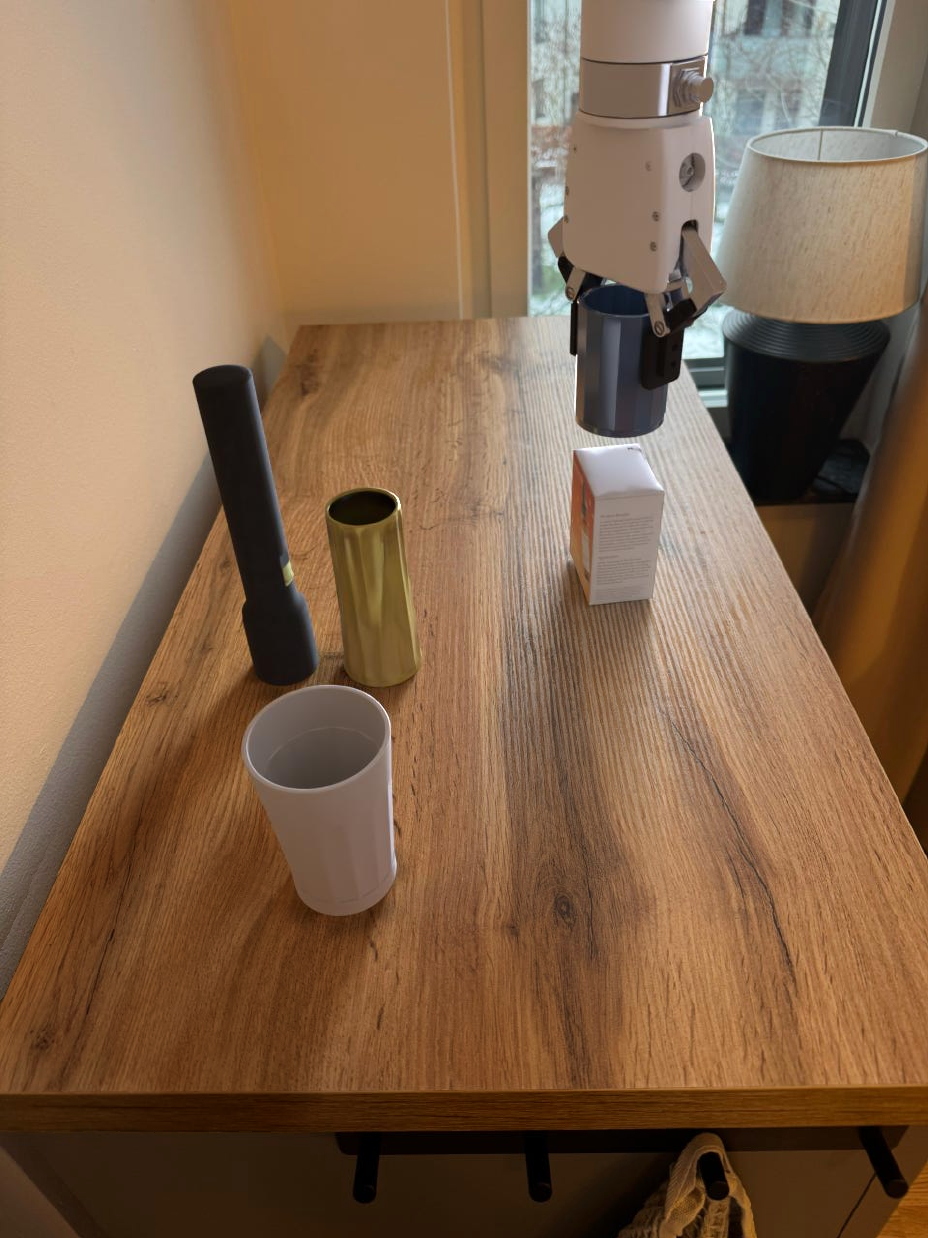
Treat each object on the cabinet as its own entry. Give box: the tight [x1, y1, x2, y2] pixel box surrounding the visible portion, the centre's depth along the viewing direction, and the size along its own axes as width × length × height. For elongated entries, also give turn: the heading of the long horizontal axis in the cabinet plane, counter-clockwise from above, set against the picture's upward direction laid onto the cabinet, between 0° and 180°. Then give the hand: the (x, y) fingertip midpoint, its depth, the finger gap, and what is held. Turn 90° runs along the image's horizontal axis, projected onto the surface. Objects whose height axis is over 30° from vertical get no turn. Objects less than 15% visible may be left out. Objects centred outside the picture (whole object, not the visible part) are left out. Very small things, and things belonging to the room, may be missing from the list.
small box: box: [568, 443, 666, 606], centre depth 76 cm, size 8×6×10 cm
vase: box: [324, 486, 423, 688], centre depth 67 cm, size 6×6×14 cm
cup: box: [240, 684, 398, 917], centre depth 53 cm, size 8×8×12 cm
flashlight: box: [191, 363, 320, 687], centre depth 64 cm, size 5×24×5 cm
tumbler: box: [573, 282, 673, 439], centre depth 67 cm, size 7×7×9 cm
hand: (622, 365), depth 67 cm, fingers closed on tumbler, 6 cm apart
